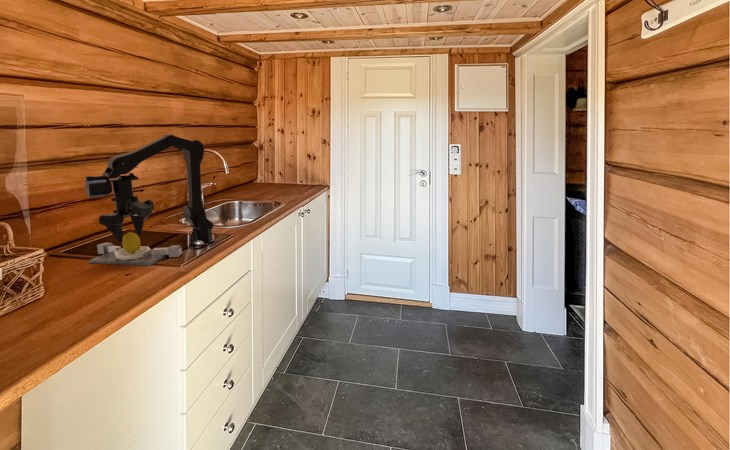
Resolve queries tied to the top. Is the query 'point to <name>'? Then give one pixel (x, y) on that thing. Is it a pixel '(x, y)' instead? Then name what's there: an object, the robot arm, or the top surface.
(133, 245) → the lemon
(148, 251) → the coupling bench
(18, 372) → the top surface
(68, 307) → the top surface
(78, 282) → the top surface
